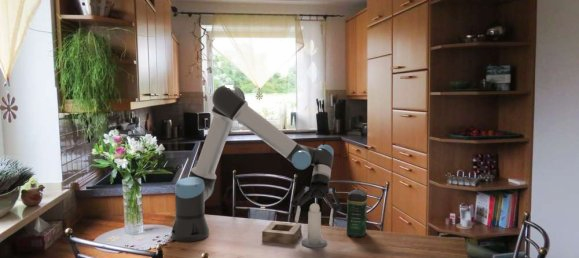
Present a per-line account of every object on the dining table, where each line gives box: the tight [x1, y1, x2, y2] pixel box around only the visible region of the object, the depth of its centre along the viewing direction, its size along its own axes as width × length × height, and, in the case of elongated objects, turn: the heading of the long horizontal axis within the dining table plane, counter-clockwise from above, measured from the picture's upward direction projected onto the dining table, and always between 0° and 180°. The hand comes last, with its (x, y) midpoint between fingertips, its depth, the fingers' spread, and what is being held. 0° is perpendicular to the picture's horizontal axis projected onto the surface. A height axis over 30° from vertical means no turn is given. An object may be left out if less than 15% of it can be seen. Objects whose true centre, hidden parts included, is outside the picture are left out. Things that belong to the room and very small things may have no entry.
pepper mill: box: [307, 202, 322, 244], centre depth 163 cm, size 5×5×16 cm
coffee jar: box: [346, 188, 368, 238], centre depth 174 cm, size 10×8×19 cm
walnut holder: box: [261, 221, 302, 245], centre depth 170 cm, size 13×13×4 cm
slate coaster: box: [301, 237, 328, 249], centre depth 163 cm, size 10×10×1 cm
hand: (313, 223), depth 160 cm, fingers open, 13 cm apart
